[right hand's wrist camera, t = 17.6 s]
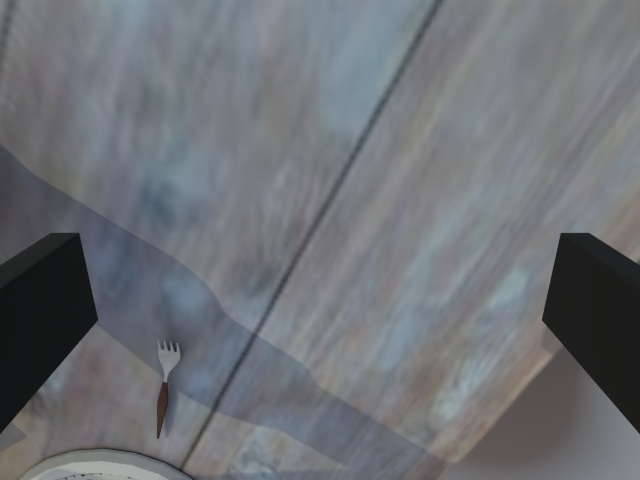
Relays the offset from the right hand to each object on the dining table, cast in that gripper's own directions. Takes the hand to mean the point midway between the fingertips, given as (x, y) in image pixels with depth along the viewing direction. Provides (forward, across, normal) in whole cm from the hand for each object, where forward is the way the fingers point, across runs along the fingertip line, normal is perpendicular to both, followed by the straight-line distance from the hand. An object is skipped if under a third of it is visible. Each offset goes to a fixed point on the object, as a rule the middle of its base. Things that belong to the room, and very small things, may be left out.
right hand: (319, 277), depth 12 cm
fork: (+32, -18, -30) cm, 48 cm away
